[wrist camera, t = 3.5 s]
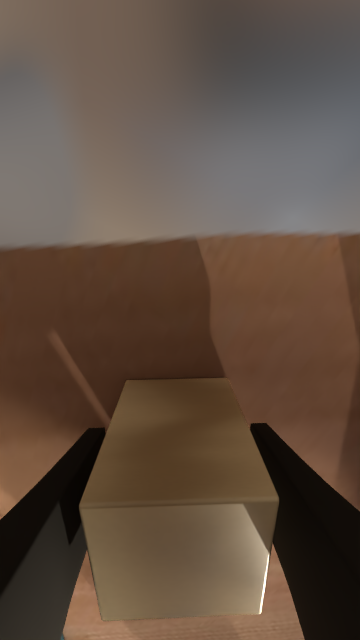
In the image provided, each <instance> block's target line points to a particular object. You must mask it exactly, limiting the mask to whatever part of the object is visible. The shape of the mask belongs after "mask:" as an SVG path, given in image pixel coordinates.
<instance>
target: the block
mask: <svg viewBox="0 0 360 640" xmlns="http://www.w3.org/2000/svg"><path fill="white" fill-rule="evenodd" d="M278 506H279V497H278V494H277V492H276V490H275V487H274V485H273V483H272V480H271V478H270V476H269V473H268V471H267V469H266V466H265V464H264V462H263V459H262V457H261V455H260V452H259V450H258V448H257V445H256V443H255V441H254V438H253V436H252V434H251V431H250V429H249V427H248V424H247V422H246V420H245V417H244V415H243V413H242V410H241V408H240V405H239V403H238V401H237V398H236V396H235V394H234V391H233V389H232V387H231V384H230V382H229V380H228V378H190V379H149V380H127V381H126V382H125V385H124V387H123V390H122V393H121V395H120V398H119V401H118V403H117V406H116V409H115V411H114V414H113V417H112V419H111V422H110V425H109V427H108V430H107V432H106V435H105V438H104V440H103V443H102V446H101V448H100V451H99V454H98V456H97V459H96V462H95V464H94V467H93V470H92V472H91V475H90V477H89V480H88V483H87V485H86V488H85V491H84V493H83V496H82V499H81V501H80V504H79V511H80V516H81V521H82V526H83V531H84V535H85V540H86V545H87V550H88V555H89V560H90V565H91V570H92V575H93V580H94V585H95V590H96V595H97V600H98V605H99V610H100V615H101V620H103V621H119V620H141V619H163V618H185V617H207V616H229V615H251V614H260V613H261V611H262V605H263V599H264V592H265V586H266V580H267V574H268V568H269V561H270V555H271V549H272V543H273V537H274V530H275V524H276V518H277V512H278Z"/></svg>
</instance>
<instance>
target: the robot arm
mask: <svg viewBox="0 0 360 640" xmlns="http://www.w3.org/2000/svg"><path fill="white" fill-rule="evenodd" d="M250 431H251V434H252V436H253V438H254V441H255V443H256V445H257V448H258V450H259V452H260V455H261V457H262V459H263V462H264V464H265V466H266V469H267V471H268V473H269V476H270V478H271V480H272V483H273V485H274V487H275V490H276V492H277V494H278V497H279V506H278V512H277V518H276V524H275V530H274V537H273V544H274V547H275V550H276V553H277V555H278V558H279V561H280V563H281V566H282V569H283V571H284V574H285V577H286V580H287V583H288V586H289V589H290V592H291V595H292V598H293V601H294V605H295V608H296V612H297V615H298V618H299V622H300V625H301V628H302V632H303V635H304V638H305V640H360V511H358V510H357V509H356V508H355V507H354V506H352V505H351V504H350V503H349V502H348V501H347V500H346V499H344V498H343V497H342V496H341V495H340V494H339V493H338V492H337V491H335V490H334V489H333V488H332V487H331V486H330V485H329V484H328V483H326V482H325V481H324V480H323V479H322V478H321V477H320V476H319V475H318V474H317V473H316V472H315V471H314V470H313V469H312V468H311V467H310V466H309V465H307V464H306V463H305V462H304V461H303V460H302V459H301V458H300V457H299V456H298V455H297V454H296V453H295V452H294V451H293V450H292V449H291V448H290V447H289V446H288V445H287V444H286V443H285V442H284V441H283V440H282V439H281V438H280V437H279V436H278V435H277V434H276V433H275V432H274V431H273V430H272V428H271V427H270V426H269V425H268V424H267V423H251V426H250ZM105 435H106V434H105V428H89V429H87V430H86V432H85V433H84V434H83V435H82V436H81V437H80V438H79V439H78V440H77V441H76V443H75V444H74V445H73V446H72V447H71V448H70V449H69V450H68V451H67V453H66V454H65V455H64V456H63V457H62V458H61V459H60V460H59V461H58V462H57V463H56V464H55V465H54V467H53V468H52V469H51V470H50V471H49V472H48V473H47V474H46V475H45V476H44V477H43V478H42V479H41V480H40V481H39V482H38V483H37V484H36V485H35V486H34V487H33V488H32V489H31V490H30V491H29V492H28V493H27V494H26V495H25V496H24V497H23V498H22V499H21V500H20V501H19V502H18V503H17V504H16V505H15V506H14V507H13V508H12V509H11V510H10V511H9V512H8V513H7V514H6V515H5V516H4V517H3V518H2V519H1V520H0V640H61V636H62V632H63V628H64V625H65V621H66V617H67V613H68V609H69V605H70V602H71V598H72V595H73V591H74V588H75V585H76V581H77V578H78V575H79V572H80V569H81V566H82V563H83V560H84V557H85V554H86V551H87V545H86V540H85V535H84V531H83V526H82V521H81V516H80V511H79V504H80V501H81V499H82V496H83V493H84V491H85V488H86V485H87V483H88V480H89V477H90V475H91V472H92V470H93V467H94V464H95V462H96V459H97V456H98V454H99V451H100V448H101V446H102V443H103V440H104V438H105Z"/></svg>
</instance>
